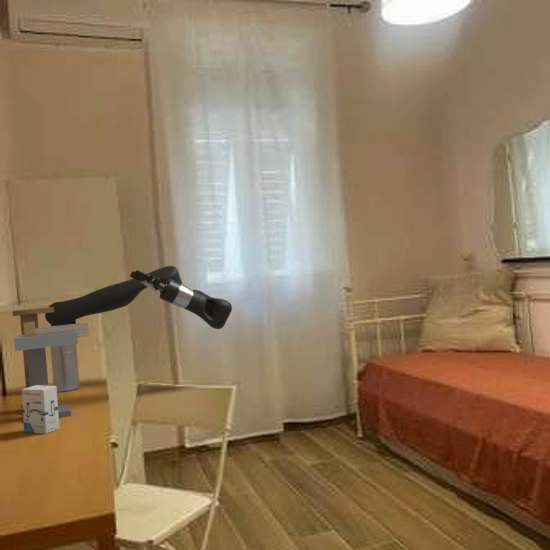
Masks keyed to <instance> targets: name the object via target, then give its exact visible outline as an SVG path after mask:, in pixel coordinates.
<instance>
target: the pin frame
mask: <svg viewBox="0 0 550 550" xmlns="http://www.w3.org/2000/svg"><path fill="white" fill-rule="evenodd" d="M13 340H14V342H13V343H14V351H16V352H17V351H19V352H20V351H23V350H27V356H28V368H29V380H30V387H32V386H35V385H45V386H49V379H48V378H49V377H48V365H47V354H46V353H47V352H46V348H50V347H55V346H63V345H72V344H76V345H78V344H79V342H78V338H77V332H70V333H60V334H51V335H41V336H32V337H25V335H22V334H19V335H17V334H16V335H15V336H14V339H13ZM71 411H72V410H71V408H70V404H69V403H67V404H62V405H58V416H59V419H61V418H65V417H71V416H72V412H71Z"/></svg>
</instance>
